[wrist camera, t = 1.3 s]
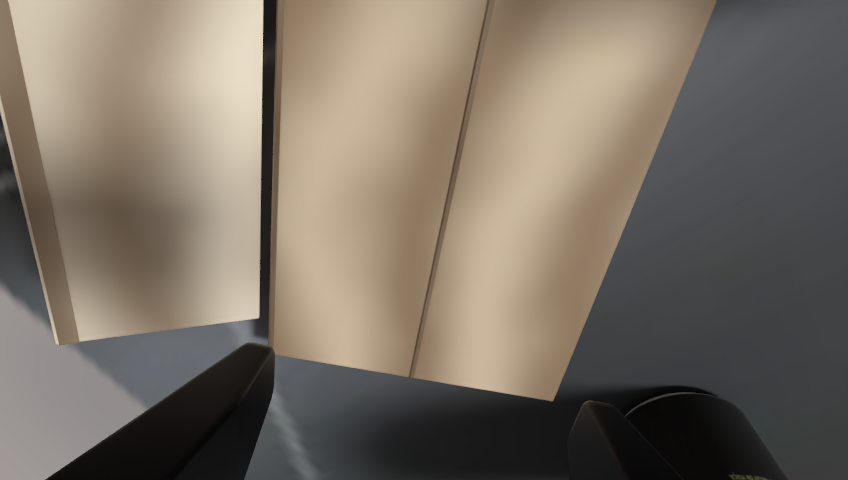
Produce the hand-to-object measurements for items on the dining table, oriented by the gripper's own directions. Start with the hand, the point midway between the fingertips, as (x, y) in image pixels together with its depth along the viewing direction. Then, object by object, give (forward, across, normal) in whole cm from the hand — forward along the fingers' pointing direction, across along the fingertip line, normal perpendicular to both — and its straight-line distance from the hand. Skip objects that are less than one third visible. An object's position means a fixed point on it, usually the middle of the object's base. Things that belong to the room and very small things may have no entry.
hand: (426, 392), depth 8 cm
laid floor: (+12, 0, 0) cm, 12 cm away
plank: (+10, +10, 0) cm, 14 cm away
